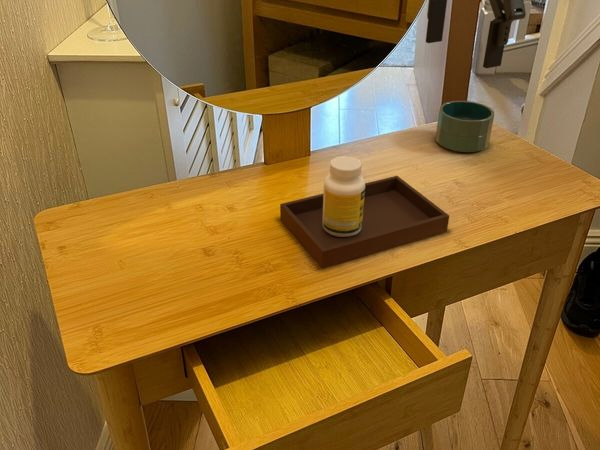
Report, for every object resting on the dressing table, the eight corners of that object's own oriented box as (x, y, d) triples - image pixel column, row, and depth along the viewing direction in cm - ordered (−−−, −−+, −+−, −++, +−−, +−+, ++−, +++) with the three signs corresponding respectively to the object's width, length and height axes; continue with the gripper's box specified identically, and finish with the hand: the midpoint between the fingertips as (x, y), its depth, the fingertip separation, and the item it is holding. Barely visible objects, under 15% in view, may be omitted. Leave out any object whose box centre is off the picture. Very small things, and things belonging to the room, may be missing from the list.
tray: (395, 190, 95) (397, 175, 93) (447, 231, 85) (449, 215, 84) (280, 219, 87) (280, 203, 86) (322, 268, 78) (322, 251, 76)
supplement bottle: (365, 237, 83) (370, 171, 77) (325, 239, 82) (327, 173, 77) (358, 215, 87) (362, 152, 82) (319, 217, 87) (321, 154, 81)
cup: (496, 141, 109) (502, 109, 106) (474, 159, 103) (480, 125, 100) (449, 128, 114) (454, 96, 111) (426, 144, 108) (430, 112, 105)
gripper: (406, -110, 92) (394, 35, 103) (531, -92, 73) (499, 82, 85) (447, -112, 95) (430, 29, 106) (577, -95, 76) (540, 74, 88)
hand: (461, 53), depth 96 cm, fingers open, 13 cm apart
